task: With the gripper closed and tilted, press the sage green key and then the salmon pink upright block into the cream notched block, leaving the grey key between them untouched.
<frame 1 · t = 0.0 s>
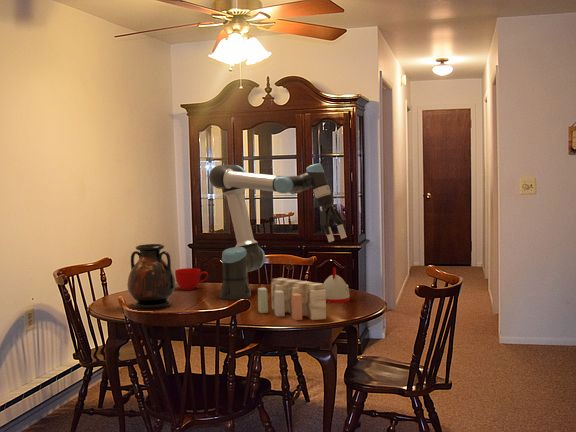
hand: (338, 239, 316), 28 cm above the table, tool tilted 20°, fingers open, 13 cm apart
cream notched block: (279, 315, 286), on the table
amphora vase: (152, 306, 313), on the table
ceramic cup: (192, 289, 354), on the table
salmon pink upright block: (296, 306, 278), point 5 cm above the table, slide at 0.0 cm
sage key: (262, 300, 293), point 5 cm above the table, slide at 0.0 cm
grey key: (279, 303, 286), point 5 cm above the table, slide at 0.0 cm
white and red dome: (334, 300, 317), on the table
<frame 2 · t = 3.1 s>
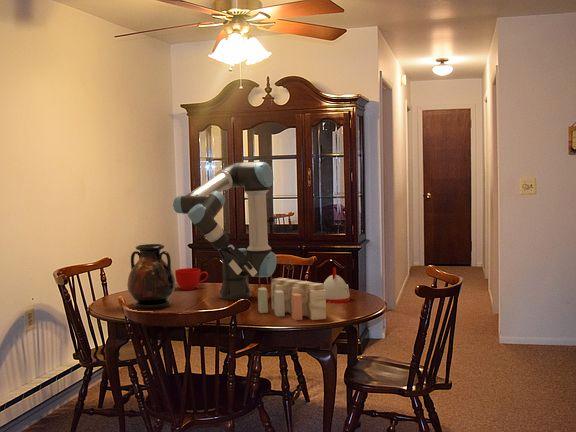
hand: (247, 273, 289), 17 cm above the table, tool tilted 40°, fingers open, 13 cm apart
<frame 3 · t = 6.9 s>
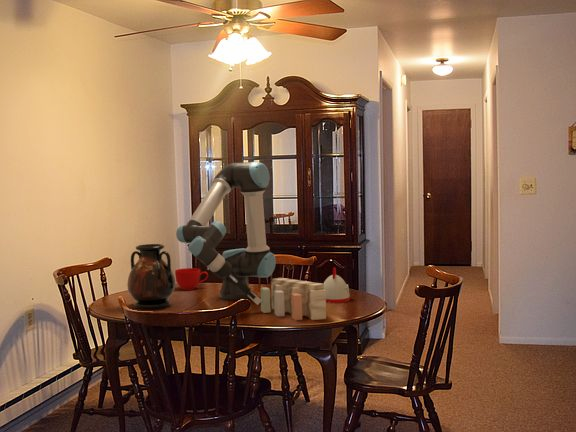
hand: (259, 302, 293), 4 cm above the table, tool tilted 45°, fingers closed
sage key: (265, 300, 293), point 5 cm above the table, slide at 1.2 cm, touching gripper
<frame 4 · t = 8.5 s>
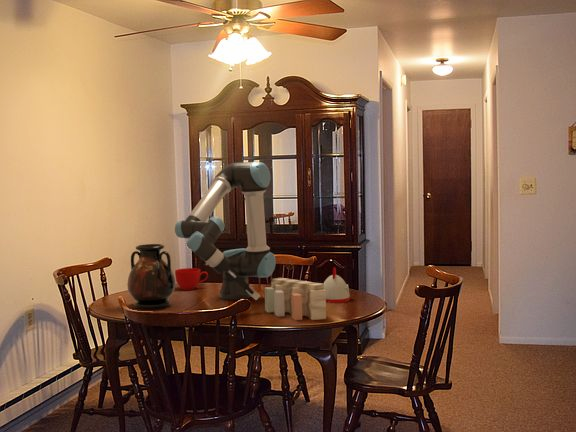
hand: (257, 297, 292), 7 cm above the table, tool tilted 45°, fingers closed
sage key: (269, 299, 294), point 5 cm above the table, slide at 3.1 cm
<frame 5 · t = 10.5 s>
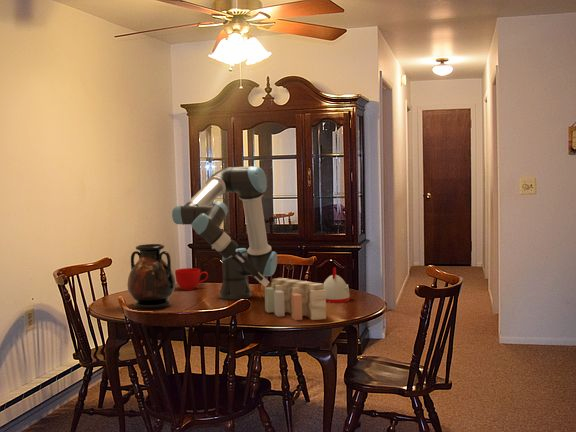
hand: (267, 284, 275), 15 cm above the table, tool tilted 45°, fingers closed
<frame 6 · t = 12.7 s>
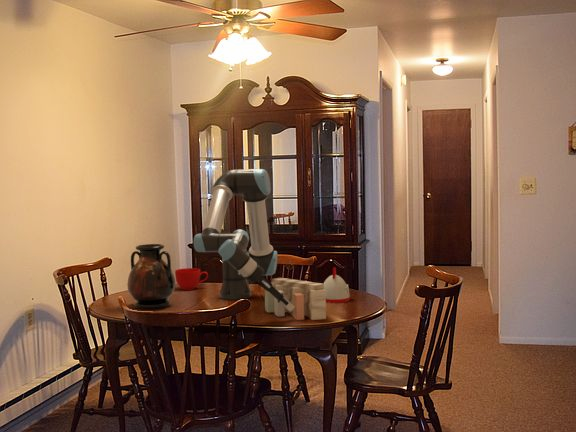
hand: (292, 308, 278), 4 cm above the table, tool tilted 45°, fingers closed
salmon pink upright block: (298, 306, 279), point 5 cm above the table, slide at 0.8 cm, touching gripper
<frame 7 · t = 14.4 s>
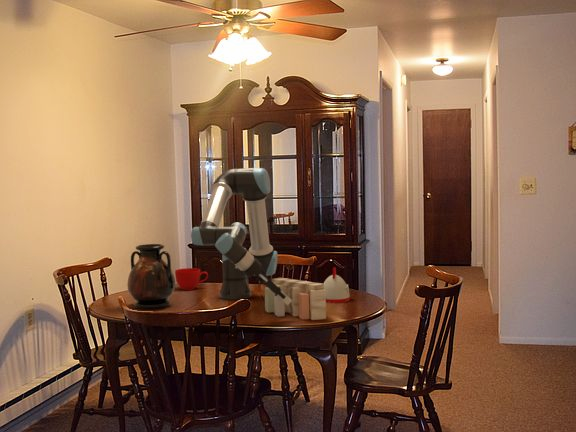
hand: (289, 302, 277), 7 cm above the table, tool tilted 45°, fingers closed
salmon pink upright block: (303, 305, 279), point 5 cm above the table, slide at 3.1 cm
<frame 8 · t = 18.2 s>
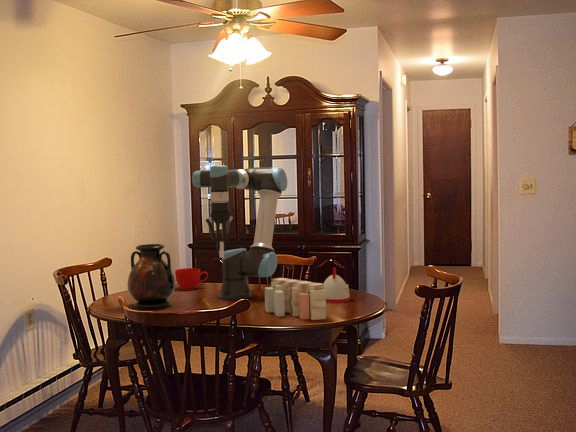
hand: (221, 257, 291), 24 cm above the table, tool pointing down, fingers closed
at the end: sage key slide at 3.1 cm; salmon pink upright block slide at 3.1 cm; grey key slide at 0.0 cm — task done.
